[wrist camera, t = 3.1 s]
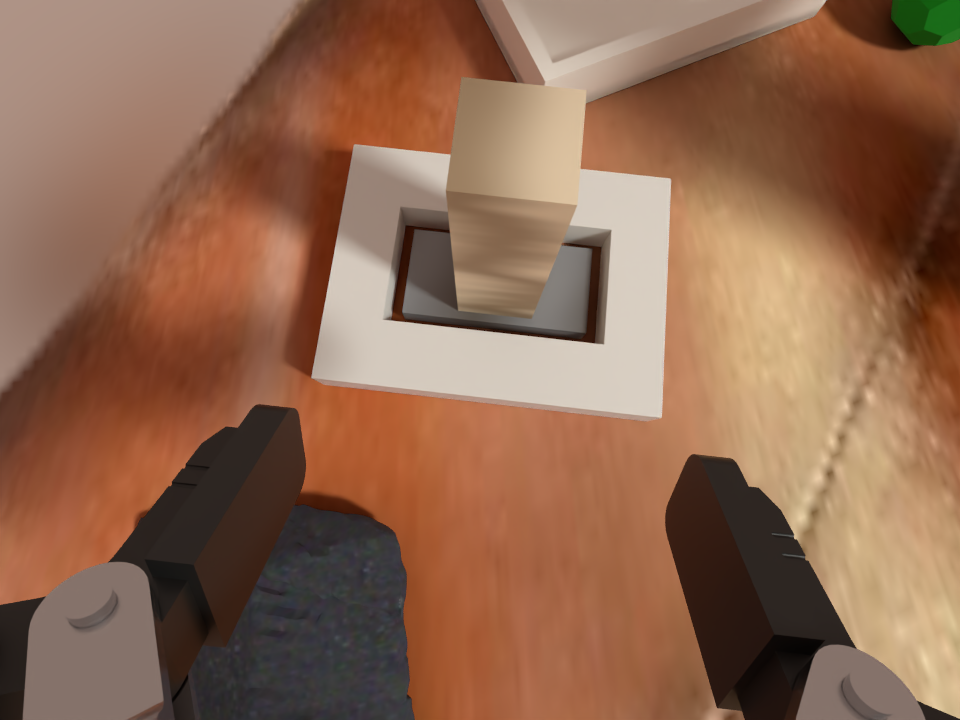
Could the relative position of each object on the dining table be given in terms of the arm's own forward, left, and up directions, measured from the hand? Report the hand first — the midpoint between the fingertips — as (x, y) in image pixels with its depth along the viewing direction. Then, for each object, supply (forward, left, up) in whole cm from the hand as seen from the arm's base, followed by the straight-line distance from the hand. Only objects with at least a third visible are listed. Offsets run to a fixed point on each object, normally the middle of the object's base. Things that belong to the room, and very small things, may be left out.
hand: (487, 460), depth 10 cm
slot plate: (-4, -8, -14) cm, 16 cm away
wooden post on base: (-4, -8, -14) cm, 16 cm away
